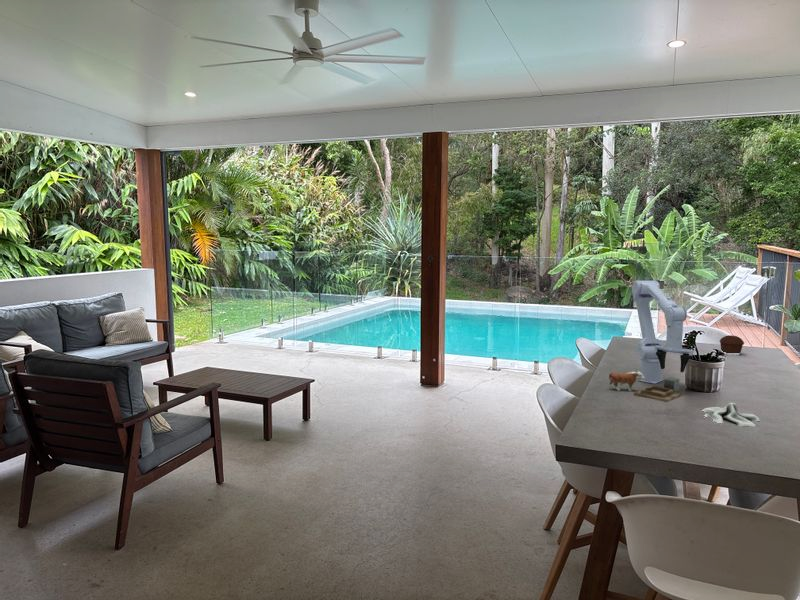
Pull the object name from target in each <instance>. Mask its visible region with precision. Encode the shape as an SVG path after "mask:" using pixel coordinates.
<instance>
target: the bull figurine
mask: <svg viewBox="0 0 800 600" xmlns="http://www.w3.org/2000/svg"><path fill="white" fill-rule="evenodd" d="M608 378H609V380H610V382H609V385H610V389H611V390H614V389H616V391H618V392H621V389H620V388H619V386H618V385H619V384H620V386H623V385H626V384H627V385H628V388H627V389H628V390H627V391H629V392H632V391H634V388H633V386H634V385H635V384H636V383H637V382H639V381H638V380H640V379H644V377H643V375H642V373H641V370H638V371H637V372H636V371H631V372H610V373H609V375H608Z"/></svg>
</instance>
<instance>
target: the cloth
mask: <svg viewBox="0 0 800 600" xmlns="http://www.w3.org/2000/svg"><path fill="white" fill-rule="evenodd" d="M702 411H704V412H703V413H705V414H704V415H703V416H705V417H709V416H710V415H711V416H712V417H711V418H712V419H713V421H712V422H714V421H715V422H717V423H723V424H724V421H727V420H729V421H728V422H731V421H732V422H731V423H733V422H734V424H735V423H736V424H735V425H737V424H738V425H739V426H738V425H737V426H738V427H741V426H749V427H748V428H756V427H755V426H757V425H756V424H755V423H754V422H755V421H760V418H759V417H758V416H757V415H755V414H753V413H740V412H739V408H738V406H737V403H736V402H729V403H728V404H726V405H725V406H724V407H719V406H712V407H705V408H703V409H702V410H701V412H702ZM706 412H709V413H706ZM710 413H712V414H710ZM705 417H704V418H705ZM709 418H710V417H709ZM712 419H711V420H712ZM723 419H725V420H723ZM751 420H754V421H751ZM715 422H714V423H715ZM760 422H761V421H760ZM717 423H716V424H717Z"/></svg>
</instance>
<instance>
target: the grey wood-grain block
mask: <svg viewBox="0 0 800 600" xmlns="http://www.w3.org/2000/svg"><path fill="white" fill-rule="evenodd" d="M663 388H667V389H672V390H674V392H675V393H678V392H679V391H680V378H676V377H670V376H669V377H667V378H664V380H663Z"/></svg>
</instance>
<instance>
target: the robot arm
mask: <svg viewBox="0 0 800 600" xmlns="http://www.w3.org/2000/svg"><path fill="white" fill-rule="evenodd" d="M660 287H661V284H660V283H659V282H658V281H657V280H656V279H655V280H654V279H653V280H639V279H638V280H634V281H633V283H632V286H631V293H632V299H633V301H635V305H636V308H637V314H638V315H637V316H638V323H639V327H640V333H641V337H642V339H641V340H640V341H639V342H638V343H637V351H636V352H637V353H636V354H637V357H638V358H639V360H640V361H641V363H640V364H641V365H640V373H642V375H643V377H644V379H640V380H638V381H637V382H643V383H648V384H654V385H655V384H658V383H661V382H664V379H665V378H664V379H663V378H662V377H663V375H662V374H663V370H665V367H666V358H667V353H674V354H680V356H679V357H680V370H679V371H680V373H684V372H685V370H686V367H687V364H688V362H689V361H690V359H691V358H692V356H694V352H695V350H694V349H688V348H683V347H682V346H683V331H684V322H685V321H687V318H688V312H687V309H686V308H685V307H684V306H679V305H678V304H677V303H676V302H675V301H674V300H673V299H672V297H670V296H665V294H664V292H663V291H662V290H661V288H660ZM653 300H655V301H656V302H657V306H658V308H659V309H660V310H661V311H662V312H663V313H664V320H665V325H666V337H665V338H666V342H665V345H663V342H662V341H661V340H659V339H658V338H656V334H655V328H654V323H653V318H652V313H651V308H650V303H651V302H653Z"/></svg>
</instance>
